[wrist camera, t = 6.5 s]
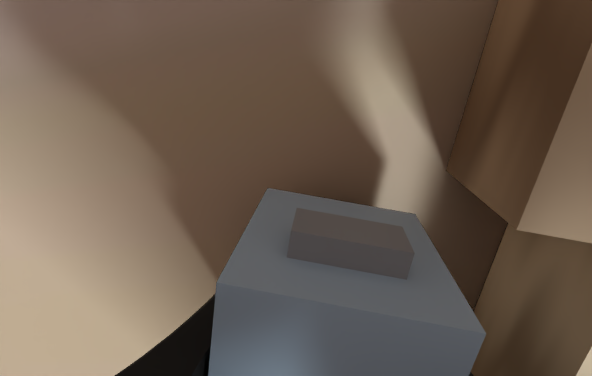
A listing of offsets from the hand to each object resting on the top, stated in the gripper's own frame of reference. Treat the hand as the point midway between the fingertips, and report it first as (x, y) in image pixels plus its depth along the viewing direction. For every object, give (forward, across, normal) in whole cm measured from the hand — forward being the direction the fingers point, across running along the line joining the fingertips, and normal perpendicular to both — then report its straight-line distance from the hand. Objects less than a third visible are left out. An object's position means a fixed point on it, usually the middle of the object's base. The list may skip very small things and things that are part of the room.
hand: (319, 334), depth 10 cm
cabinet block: (+2, 0, 0) cm, 2 cm away
